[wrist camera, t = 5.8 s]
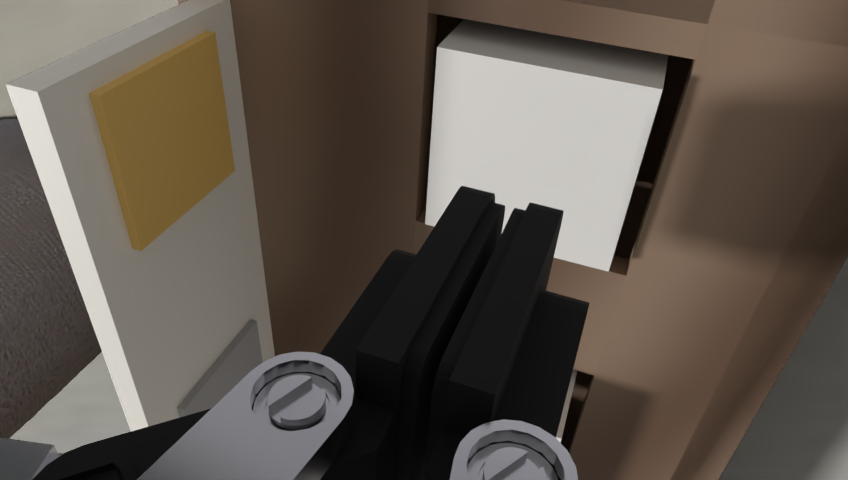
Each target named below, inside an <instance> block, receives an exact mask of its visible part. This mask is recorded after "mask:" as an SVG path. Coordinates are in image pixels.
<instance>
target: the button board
mask: <svg viewBox="0 0 848 480" xmlns="http://www.w3.org/2000/svg"><path fill="white" fill-rule="evenodd" d="M186 1H188V0H178V2H179V4H181V3H184V2H186ZM230 4H231V12H232V20H233V28H234V36H235V44H236V52H237V59H238V67H239V75H240V83H241V91H242V99H243V107H244V115H245V123H246V131H247V139H248V147H249V155H250V163H251V171H252V179H253V186H254V194H255V202H256V210H257V218H258V226H259V234H260V242H261V250H262V258H263V266H264V274H265V282H266V290H267V298H268V306H269V313H270V321H271V329H272V337H273V345H274V353H275V356H278V355H280V354H285V353H292V352H298V351H299V352H314V353H318V354H320V353H321V352H322V350H323V349H324V347H325V346H326V344H327V343H328V342H329V340H330V339H331V337H332V336H333V334H334V333H335V331H336V330H337V329H338V327H339V326H340V324H341V323H342V321H343V320H344V319H345V317H346V316H347V314H348V313H349V311H350V310H351V309H352V307H353V306H354V304H355V303H356V301H357V300H358V299H359V297H360V296H361V294H362V293H363V291H364V290H365V289H366V287H367V286H368V284H369V283H370V281H371V280H372V278H373V277H374V276H375V274H376V273H377V271H378V270H379V268H380V267H381V266H382V264H383V263H384V261H385V260H386V258H387V257H388V256H389V255H390V253H391V252H392V251H393V250H396V249H398V250H402V251H406V252H409V253H413V254H416V255H417V253H418V252H419V250H420V249H421V247H422V245H423V244H424V242H425V241H426V239H427V238H428V236H429V234H430V233H431V231H432V230H433V228H434V226H430V225H426V224H425V217H426V202H427V188H428V173H429V158H430V144H431V129H432V114H433V99H434V85H435V70H436V55H437V47H438V46H439V44H440V43H441V42H442V41H443V40H444V39H445V38H446V37H447V36H448V35H449V34H450V33H451V32H452V31H453V30H454V29H455V28H456V27H457V26H458V25H459V24H460V23H461V22H462V21H463V20H464V19H467V20H473V21H479V22H484V23H490V24H496V25H501V26H507V27H513V28H518V29H524V30H530V31H536V32H541V33H547V34H553V35H558V36H564V37H570V38H575V39H581V40H587V41H592V42H598V43H604V44H610V45H615V46H621V47H627V48H632V49H638V50H644V51H649V52H655V53H661V54H666V55H669V56H668V62H667V68H666V74H665V80H664V86H663V91H662V94H661V98H660V101H659V104H658V108H657V111H656V114H655V118H654V121H653V124H652V128H651V131H650V135H649V138H648V141H647V145H646V148H645V151H644V155H643V158H642V161H641V165H640V168H639V171H638V175H637V178H636V182H635V185H634V188H633V192H632V195H631V198H630V202H629V205H628V208H627V212H626V215H625V218H624V222H623V225H622V229H621V232H620V235H619V239H618V242H617V245H616V249H615V252H614V255H613V259H612V262H611V265H610V269H609V272H608V271H604V270H600V269H596V268H592V267H588V266H584V265H581V264H577V263H573V262H569V261H565V260H561V259H557V258H553V262H552V267H551V271H550V275H549V280H548V284H547V289H546V291H549V292H553V293H557V294H560V295H564V296H567V297H571V298H575V299H578V300H582V301H585V302H589V308H588V312H587V316H586V320H585V324H584V328H583V332H582V336H581V340H580V344H579V348H578V352H577V356H576V360H575V364H574V368H573V369H574V370H577V374H576V379H575V383H574V387H573V392H572V396H571V400H570V405H569V409H568V413H567V418H566V422H565V426H564V431H563V435H562V439H561V444H562V445H563V446H564V447H565V448H566V449H567V450H568V452H569V454H570V456H571V458H572V460H573V462H574V464H575V466H576V469H577V475H578V480H718V479H719V477H720V475H721V474H722V472H723V470H724V469H725V467H726V465H727V463H728V462H729V460H730V458H731V457H732V455H733V453H734V451H735V450H736V448H737V446H738V444H739V443H740V441H741V439H742V438H743V436H744V434H745V432H746V431H747V429H748V427H749V426H750V424H751V422H752V420H753V419H754V417H755V415H756V414H757V412H758V410H759V408H760V407H761V405H762V403H763V401H764V400H765V398H766V396H767V395H768V393H769V391H770V389H771V388H772V386H773V384H774V383H775V381H776V379H777V377H778V376H779V374H780V372H781V371H782V369H783V367H784V365H785V364H786V362H787V360H788V358H789V357H790V355H791V353H792V352H793V350H794V348H795V346H796V345H797V343H798V341H799V340H800V338H801V336H802V334H803V333H804V331H805V329H806V328H807V326H808V324H809V322H810V321H811V319H812V317H813V315H814V314H815V312H816V310H817V309H818V307H819V305H820V303H821V302H822V300H823V298H824V297H825V295H826V293H827V291H828V290H829V288H830V286H831V285H832V283H833V281H834V279H835V278H836V276H837V274H838V272H839V271H840V269H841V267H842V266H843V264H844V262H845V260H846V259H847V257H848V0H230Z"/></svg>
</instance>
